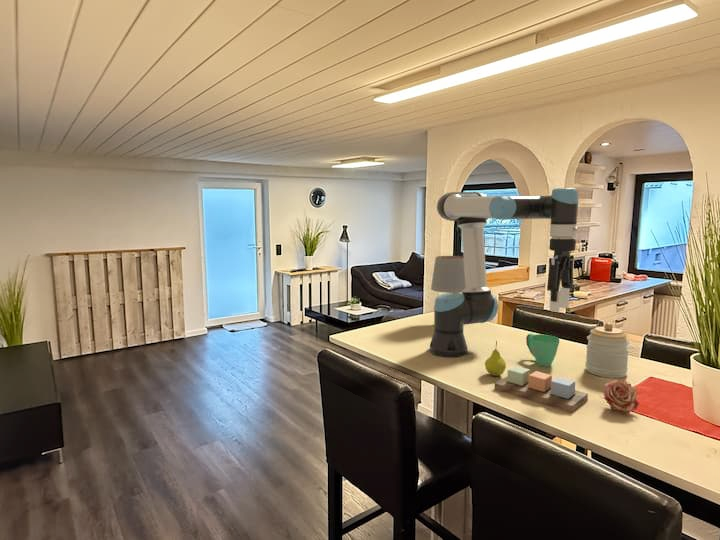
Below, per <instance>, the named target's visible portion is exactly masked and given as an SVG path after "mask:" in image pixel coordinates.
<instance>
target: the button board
mask: <svg viewBox="0 0 720 540" xmlns="http://www.w3.org/2000/svg"><path fill="white" fill-rule="evenodd" d="M528 383H529V382H528ZM528 383H526V384H524V385H523V386H521V385H517V384H514V383H510V382H507V376H505V377H503V378H502V379H500V380H497V381H496V382H494V390H497V391H500V392H503V393H506V394H510V395H513V396H516V397H518V398H519V397H520V398H523V399H525V400H529V401H532V402H535V401H536V403H539V404H542V405H544V406H545V405H546V406H548V407H552V408H555V409H559V410H563V411H565V412H568V413H574V412H575V411H576V410H577V409H578V408H580V407H581V406H583V404H584V403H586V402H587V401H588V400H589V399H588V396H589V393H586V392H584V391H580V390H576V389H575V394H574V395H573V396H571V397H570V398H569V399H566V398H563V397H559V396H556V395H552V394H551V388H550V389H548V390H547V391H545V392H542V391H538V390H535V389H531V388H528Z"/></svg>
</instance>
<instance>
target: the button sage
mask: <svg viewBox="0 0 720 540" xmlns="http://www.w3.org/2000/svg"><path fill="white" fill-rule="evenodd" d="M530 374H531V369H529V368H525V367H523V366H517V365H514V366H512V367H510V368H508V369H507V376H506V377H507V382H510V383H514V385H517V386H521V387H523V385H524V384H526V383H528V382H529V375H530Z"/></svg>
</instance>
